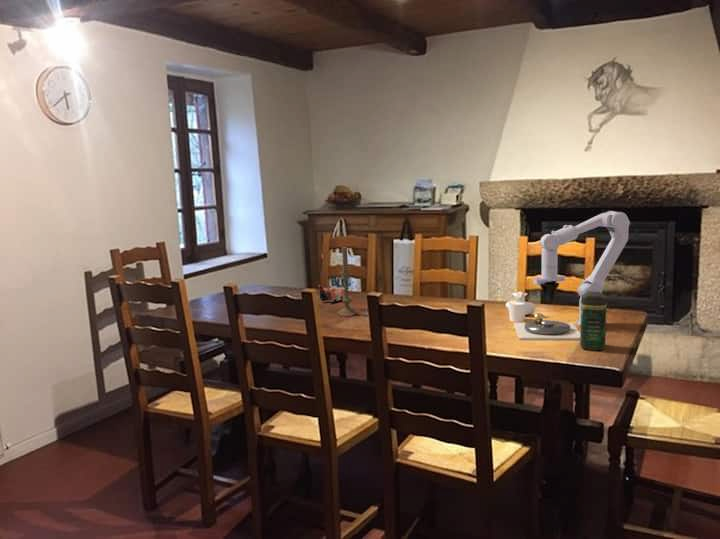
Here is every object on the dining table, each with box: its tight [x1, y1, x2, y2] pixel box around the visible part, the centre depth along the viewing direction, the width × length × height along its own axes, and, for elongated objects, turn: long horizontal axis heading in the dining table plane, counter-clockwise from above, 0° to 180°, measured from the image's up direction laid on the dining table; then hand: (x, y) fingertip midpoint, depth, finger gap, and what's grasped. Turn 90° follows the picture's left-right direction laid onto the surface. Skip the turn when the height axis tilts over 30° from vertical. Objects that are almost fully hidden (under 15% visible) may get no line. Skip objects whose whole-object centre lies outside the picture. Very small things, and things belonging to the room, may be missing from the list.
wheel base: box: [513, 322, 581, 341], centre depth 228 cm, size 22×22×1 cm
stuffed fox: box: [318, 284, 345, 302], centre depth 299 cm, size 8×11×12 cm
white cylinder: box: [507, 301, 526, 323], centre depth 247 cm, size 7×7×7 cm
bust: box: [505, 290, 536, 316], centre depth 255 cm, size 12×8×11 cm
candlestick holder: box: [337, 246, 357, 315], centre depth 268 cm, size 9×9×30 cm
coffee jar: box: [579, 291, 607, 351], centre depth 205 cm, size 10×8×19 cm
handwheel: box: [525, 312, 570, 334], centre depth 227 cm, size 16×16×4 cm
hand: (549, 301), depth 236 cm, fingers closed
